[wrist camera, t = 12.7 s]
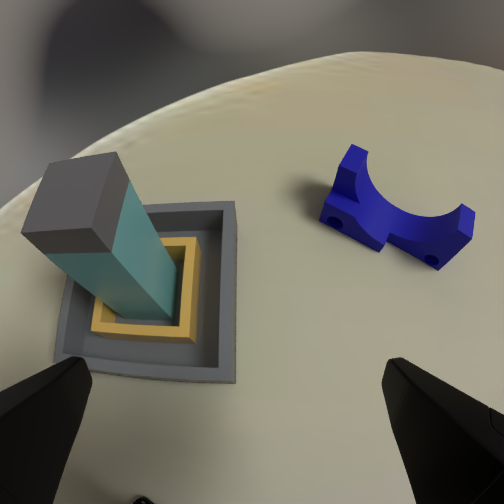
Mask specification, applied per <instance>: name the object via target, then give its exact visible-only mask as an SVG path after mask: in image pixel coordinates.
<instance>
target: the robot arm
mask: <svg viewBox="0 0 504 504" xmlns="http://www.w3.org/2000/svg"><path fill="white" fill-rule="evenodd" d="M91 387H92V377H91V374H90V371H89V369H88V366H87V363H86V361H85V359H84V358H82V357H78V356H71V357H69V358H67V359H65V360H63V361H61V362H59V363H57V364H55V365H53V366H51V367H49V368H47V369H45V370H43V371H41V372H39V373H37V374H35V375H33V376H31V377H29V378H27V379H25V380H23V381H21V382H19V383H17V384H15V385H13V386H11V387H9V388H7V389H5V390H3V391H1V392H0V504H53V501H54V498H55V495H56V492H57V489H58V486H59V482H60V479H61V476H62V473H63V471H64V468H65V465H66V462H67V459H68V456H69V454H70V451H71V448H72V445H73V443H74V440H75V437H76V435H77V432H78V430H79V427H80V424H81V421H82V418H83V414H84V411H85V407H86V404H87V400H88V397H89V393H90V390H91ZM382 390H383V394H384V398H385V402H386V406H387V410H388V414H389V419H390V423H391V427H392V430H393V433H394V436H395V439H396V442H397V445H398V448H399V451H400V454H401V457H402V460H403V463H404V466H405V469H406V472H407V475H408V478H409V481H410V484H411V487H412V491H413V494H414V497H415V501H416V504H504V415H503V414H501V413H499V412H498V411H496V410H494V409H492V408H489V407H488V406H487V405H485V404H483V403H481V402H480V401H478V400H476V399H474V398H472V397H471V396H469V395H467V394H465V393H463V392H462V391H460V390H458V389H456V388H455V387H453V386H451V385H449V384H447V383H446V382H444V381H442V380H440V379H439V378H437V377H435V376H433V375H432V374H430V373H428V372H426V371H425V370H423V369H421V368H419V367H418V366H416V365H414V364H412V363H411V362H409V361H407V360H406V359H404V358H401V357H399V358H392V359H389V360H388V362H387V364H386V368H385V371H384V375H383V378H382ZM141 501H144V502H145V503H146V504H154V503H153V502H151V501H150V500H149V499H148V498H146V497H140V498H138V499H137V500H136V501H135V502H134V503H133V504H142V503H141Z"/></svg>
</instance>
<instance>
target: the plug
mask: <svg viewBox="0 0 504 504" xmlns="http://www.w3.org/2000/svg"><path fill="white" fill-rule="evenodd" d="M21 234H22V235H23V236H24V237H26V238H27V239H28V240H29V241H30V242H31V243H32V244H33V245H34V246H35V247H36V248H38V249H39V250H40V251H41V252H42V253H43V254H44V255H45V256H47V257H48V258H49V259H50V260H51V261H52V262H53V263H55V264H56V265H57V266H58V267H59V268H60V269H62V270H63V271H64V272H65V273H66V274H68V275H69V276H70V277H71V278H73V279H74V280H75V281H76V282H78V283H79V284H80V285H81V286H83V287H84V288H85V289H86V290H88V291H89V292H90V293H92V294H93V295H94V296H95V297H97V298H98V299H99V300H101V301H102V302H103V303H105V304H106V305H107V306H109V307H110V308H111V309H113V310H114V311H116V312H117V313H118V314H120V315H121V316H123V317H124V318H125V319H136V320H159V321H175V307H176V295H177V283H178V270H177V268H176V266H175V265H174V263H173V261H172V259H171V258H170V256H169V254H168V252H167V250H166V249H165V247H164V245H163V243H162V241H161V239H160V238H159V236H158V234H157V232H156V230H155V228H154V226H153V224H152V223H151V221H150V219H149V217H148V215H147V213H146V211H145V209H144V207H143V205H142V203H141V201H140V199H139V197H138V195H137V194H136V192H135V190H134V188H133V186H132V183H131V181H130V179H129V177H128V175H127V173H126V171H125V169H124V167H123V165H122V163H121V161H120V159H119V157H118V154H117V152H110V153H103V154H97V155H91V156H85V157H80V158H74V159H69V160H65V161H59V162H54V163H50V164H49V166H48V168H47V170H46V172H45V174H44V176H43V178H42V180H41V183H40V185H39V187H38V189H37V192H36V194H35V197H34V199H33V201H32V204H31V206H30V209H29V211H28V214H27V217H26V219H25V222H24V225H23V228H22V230H21Z"/></svg>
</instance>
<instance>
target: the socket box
mask: <svg viewBox="0 0 504 504" xmlns="http://www.w3.org/2000/svg"><path fill="white" fill-rule="evenodd" d="M143 207H144V209H145V211H146V213H147V215H148V217H149V219H150V221H151V223H152V224H153V226H154V228H155V230H156V232H157V234H158V236H159V238H160V239H161V241H162V243H163V245H164V247H165V249H166V250H167V252H168V254H169V256H170V258H171V259H172V261H173V263H174V265H175V266H176V268H177V270H178V283H177V295H176V307H175V321H159V320H136V319H125V318H124V317H123V316H121V315H120V314H118V313H117V312H116V311H114V310H113V309H111V308H110V307H109V306H107V305H106V304H105V303H103V302H102V301H101V300H99V299H98V298H97V297H95V296H94V295H93V294H92V293H90V292H89V291H88V290H86V289H85V288H84V287H83V286H81V285H80V284H79V283H78V282H76V281H75V280H74V279H73V278H71V277H70V276H69V275H67V280H66V284H65V289H64V294H63V299H62V305H61V310H60V316H59V322H58V329H57V336H56V344H55V352H54V361H53V362H54V363H59V362H61V361H63V360H65V359H67V358H69V357H71V356H78V357H82V358H84V359H85V361H86V363H87V366H88V369H89V371H91V372H97V373H103V374H110V375H118V376H125V377H134V378H143V379H153V380H165V381H178V382H196V383H228V384H236V275H237V219H236V210H235V201H215V202H190V203H169V204H152V205H143Z"/></svg>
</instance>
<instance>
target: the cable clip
mask: <svg viewBox="0 0 504 504" xmlns="http://www.w3.org/2000/svg"><path fill="white" fill-rule="evenodd" d="M367 155H368V151H366V150H364V149H362V148H360V147H357V146H355V145H353V144H351V146H350V148H349V149H348V151H347V153H346V154H345V156H344V158H343V159H342V161H341V163H340V164H339V167H338V171H337V174H336V178H335V181H334V184H333V188H332V190H331V192H330V194H329V195H328V197H327V199H326V201H325V203H324V206H323V210H322V213H321V216H320V220H319V221H320V222H322V223H324V224H326V225H328V226H330V227H332V228H334V229H336V230H338V231H340V232H341V233H343V234H345V235H347V236H349V237H351V238H353V239H355V240H357V241H359V242H360V243H362V244H364V245H366V246H368V247H370V248H372V249H373V250H375V251H377V252H380V251H381V250H382V248H383V247H384V245H385V243H386V241H387V242H389V243H391V244H393V245H395V246H396V247H398V248H400V249H402V250H404V251H405V252H407V253H409V254H411V255H412V256H414V257H416V258H418V259H419V260H421V261H423V262H424V263H426V264H428V265H430V266H431V267H433V268H435V269H436V270H438V271H439V270H440V269H441V268H442V267H443V266H444V265H445V264H446V263H447V262H449V261H450V260H451V259H452V258H453V257H454V256H455V255H456V254H457V253H458V252H459V251H460V250H461V249H462V248H463V247H464V246H465V245H466V244H467V243H468V242H470V241H471V240H472V236H473V228H474V220H475V212H474V211H473V210H471V209H470V208H468V207H467V206H465V205H464V204H461V205H460V206H459V207H458V208H456V209H455V210H454V211H452V212H450V213H448V214H445V215H442V216H436V217H423V216H417V215H413V214H410V213H407V212H405V211H403V210H400V209H399V208H397V207H395V206H394V205H392V204H391V203H389V202H388V201H387V200H386V199H385V198H383V197H382V196H381V195H380V193H379V192H378V191H377V190H376V188H375V187H374V185H373V184H372V182H371V180H370V177H369V175H368V171H367Z"/></svg>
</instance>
